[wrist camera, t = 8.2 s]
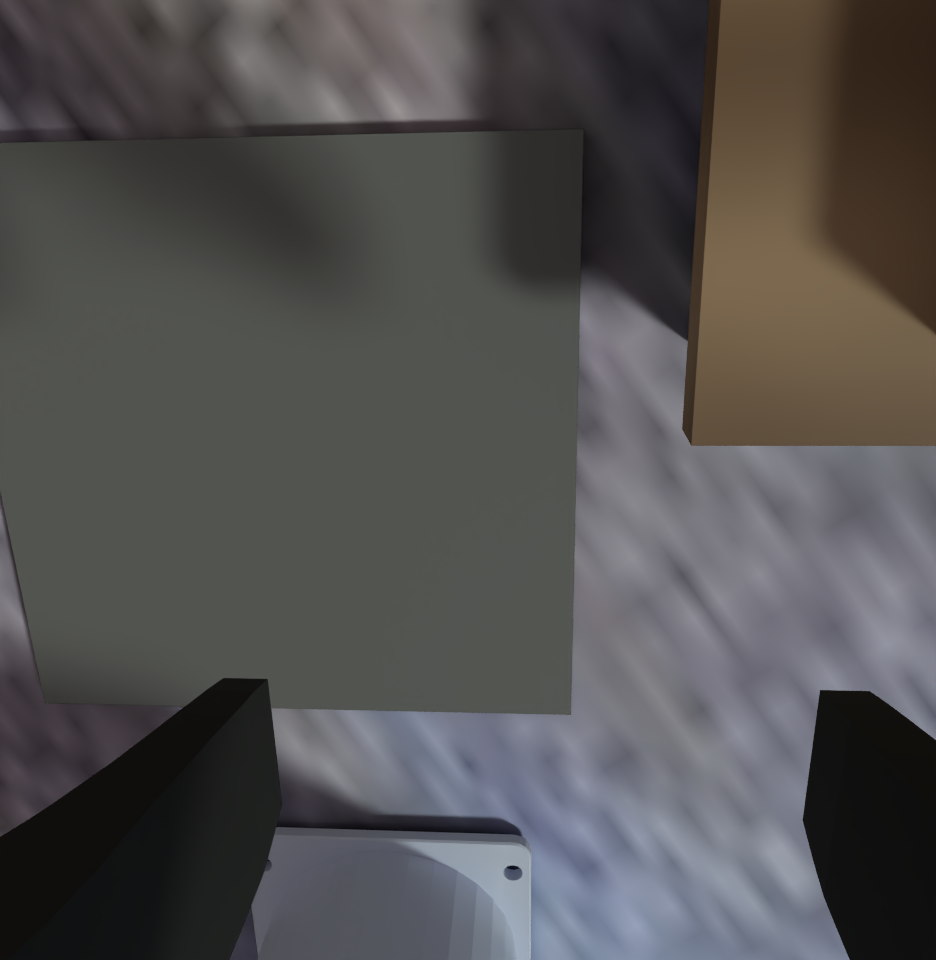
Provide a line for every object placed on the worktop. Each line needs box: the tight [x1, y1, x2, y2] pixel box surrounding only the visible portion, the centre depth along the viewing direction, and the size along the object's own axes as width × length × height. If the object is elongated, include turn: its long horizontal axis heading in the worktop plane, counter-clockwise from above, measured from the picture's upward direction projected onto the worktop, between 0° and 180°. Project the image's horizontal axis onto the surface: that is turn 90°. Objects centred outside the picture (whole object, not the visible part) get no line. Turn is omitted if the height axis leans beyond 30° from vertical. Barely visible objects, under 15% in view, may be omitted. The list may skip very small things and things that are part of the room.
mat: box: [0, 129, 584, 715], centre depth 21 cm, size 14×14×1 cm
